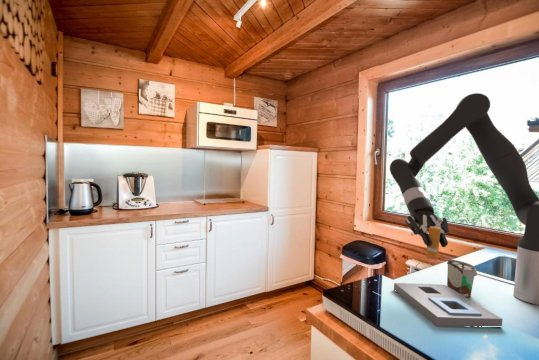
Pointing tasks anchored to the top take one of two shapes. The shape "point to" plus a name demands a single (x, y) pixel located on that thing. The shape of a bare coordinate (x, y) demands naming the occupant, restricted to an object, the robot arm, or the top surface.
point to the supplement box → (433, 243)
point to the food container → (460, 277)
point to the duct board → (446, 306)
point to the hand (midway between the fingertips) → (437, 245)
